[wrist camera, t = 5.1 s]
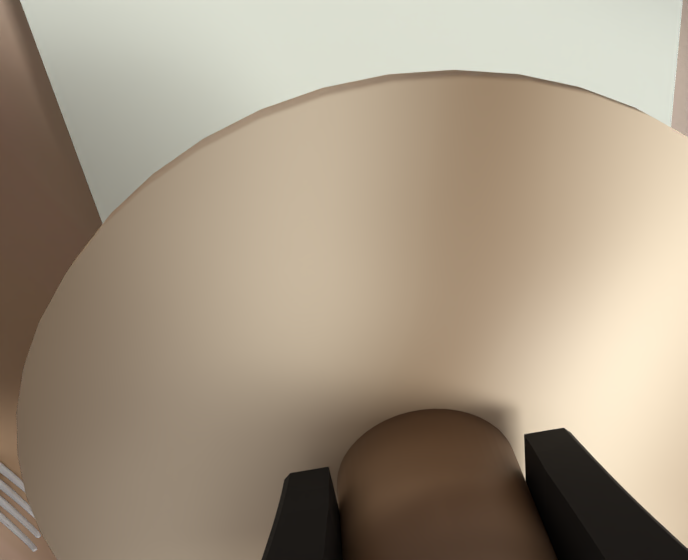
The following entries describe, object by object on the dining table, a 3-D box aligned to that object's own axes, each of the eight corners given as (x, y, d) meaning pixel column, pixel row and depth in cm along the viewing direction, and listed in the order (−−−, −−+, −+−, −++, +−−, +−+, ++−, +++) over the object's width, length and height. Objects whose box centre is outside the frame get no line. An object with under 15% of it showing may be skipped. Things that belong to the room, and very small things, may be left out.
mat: (687, -146, 15) (696, -148, 15) (651, 264, 21) (657, 270, 20) (16, -27, 16) (10, -26, 15) (153, 346, 21) (150, 353, 21)
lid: (895, 4, 8) (1292, 58, 5) (731, 633, 15) (860, 844, 11) (-117, 143, 8) (-389, 287, 5) (149, 711, 15) (105, 944, 11)
